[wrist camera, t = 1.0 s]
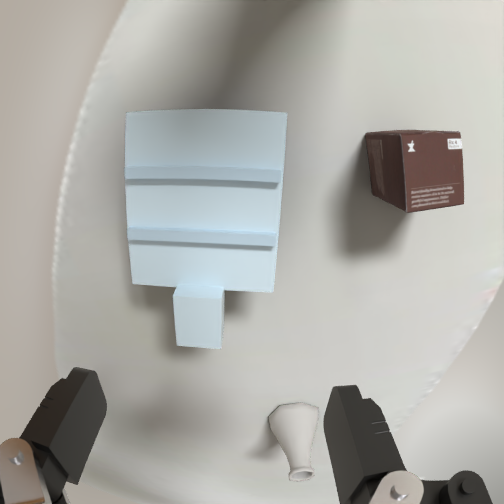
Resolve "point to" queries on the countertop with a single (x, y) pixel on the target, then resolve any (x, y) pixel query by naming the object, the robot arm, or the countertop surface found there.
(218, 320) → the lid
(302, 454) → the flask
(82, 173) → the countertop surface
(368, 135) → the box
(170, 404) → the countertop surface
